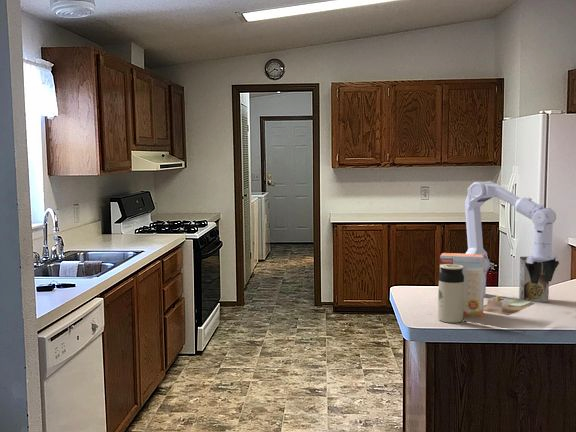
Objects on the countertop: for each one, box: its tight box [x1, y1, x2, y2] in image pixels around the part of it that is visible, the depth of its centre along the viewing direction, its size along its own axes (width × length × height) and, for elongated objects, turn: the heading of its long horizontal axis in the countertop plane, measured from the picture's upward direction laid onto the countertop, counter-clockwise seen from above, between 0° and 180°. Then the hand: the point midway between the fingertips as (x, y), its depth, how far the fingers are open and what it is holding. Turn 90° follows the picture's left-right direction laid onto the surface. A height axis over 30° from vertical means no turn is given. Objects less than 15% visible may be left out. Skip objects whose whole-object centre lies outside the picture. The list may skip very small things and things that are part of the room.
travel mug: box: [437, 264, 464, 324], centre depth 201 cm, size 8×8×18 cm
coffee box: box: [518, 256, 550, 303], centre depth 229 cm, size 9×6×16 cm
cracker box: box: [439, 252, 485, 318], centre depth 207 cm, size 14×6×21 cm, turn 69°
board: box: [483, 295, 535, 316], centre depth 217 cm, size 12×22×6 cm, turn 137°
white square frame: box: [486, 296, 510, 312], centre depth 212 cm, size 5×5×4 cm
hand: (541, 282), depth 214 cm, fingers open, 7 cm apart
